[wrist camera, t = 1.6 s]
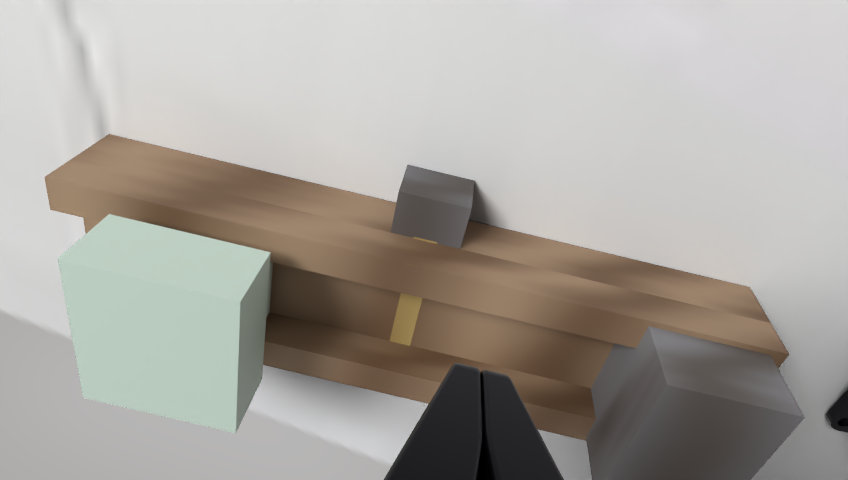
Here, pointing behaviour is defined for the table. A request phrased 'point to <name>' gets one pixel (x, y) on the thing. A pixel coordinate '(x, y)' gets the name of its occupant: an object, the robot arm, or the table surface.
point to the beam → (474, 308)
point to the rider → (167, 320)
